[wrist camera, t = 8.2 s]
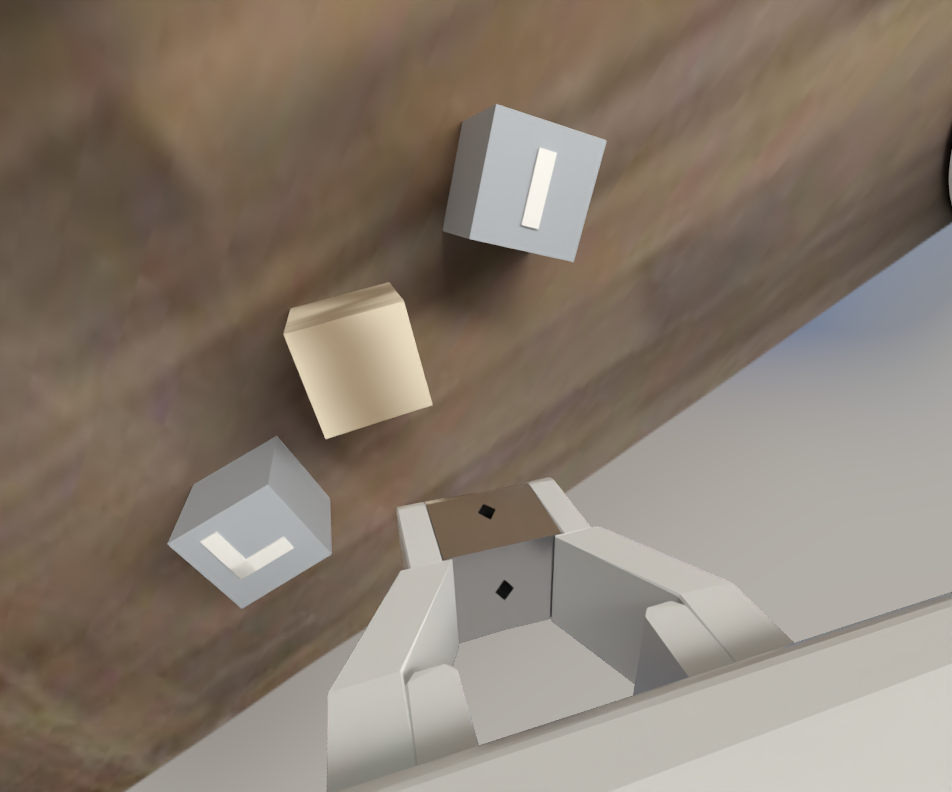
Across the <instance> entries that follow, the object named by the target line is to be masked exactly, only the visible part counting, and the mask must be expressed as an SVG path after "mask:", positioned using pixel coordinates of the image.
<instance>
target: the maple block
mask: <svg viewBox="0 0 952 792" xmlns="http://www.w3.org/2000/svg"><path fill="white" fill-rule="evenodd" d="M283 335H284V337H285V340H286V342H287V345H288V347H289V350H290V352H291V355H292V357H293V360H294V362H295V365H296V367H297V370H298V372H299V375H300V377H301V379H302V382H303V384H304V387H305V389H306V392H307V394H308V397H309V399H310V402H311V404H312V407H313V409H314V412H315V414H316V417H317V419H318V422H319V424H320V427H321V429H322V432H323V434H324V437H325V439H328V438H331V437H334V436H337V435H341V434H344V433H347V432H350V431H353V430H356V429H359V428H362V427H366V426H369V425H372V424H375V423H378V422H381V421H384V420H387V419H391V418H394V417H397V416H400V415H403V414H406V413H409V412H412V411H416V410H419V409H422V408H425V407H428V406H431V405H432V401H431V397H430V394H429V390H428V387H427V383H426V379H425V376H424V372H423V368H422V365H421V361H420V358H419V354H418V350H417V347H416V343H415V339H414V336H413V332H412V329H411V325H410V321H409V318H408V314H407V310H406V307H405V303H404V301H403V299H402V298H401V297H400V295H399V294H398V293H397V292H396V290H395V289H394V288H393V286H392V285H391V284H390V283H389V282H388V283H384V284H380V285H377V286H373V287H369V288H365V289H362V290H358V291H354V292H350V293H347V294H343V295H339V296H335V297H332V298H328V299H324V300H320V301H317V302H313V303H309V304H305V305H302V306H298V307H294V308H291V309H290V312H289V316H288V319H287V323H286V327H285V330H284V334H283Z"/></svg>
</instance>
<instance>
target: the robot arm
mask: <svg viewBox="0 0 952 792" xmlns="http://www.w3.org/2000/svg"><path fill="white" fill-rule="evenodd" d="M949 192H950V199H951V204H952V151H951V158H950V166H949ZM396 514H397V522H398V531H399V539H400V547H401V555H402V563H403V570H402V571H400V572H399V574H398V575H397V577H396V579H395V580H394V582H393V584H392V585H391V587H390V589H389V591H388V592H387V594H386V596H385V597H384V599H383V601H382V602H381V604H380V606H379V607H378V609H377V611H376V613H375V614H374V616H373V618H372V619H371V621H370V623H369V624H368V626H367V628H366V629H365V631H364V633H363V635H362V636H361V638H360V640H359V641H358V643H357V645H356V646H355V648H354V650H353V651H352V653H351V655H350V657H349V658H348V660H347V662H346V663H345V665H344V667H343V668H342V670H341V672H340V674H339V675H338V677H337V679H336V680H335V682H334V684H333V685H332V687H331V689H330V690H329V692H328V726H327V728H328V730H327V731H328V732H327V792H952V592H950V593H947V594H944V595H941V596H938V597H935V598H931V599H928V600H925V601H922V602H919V603H916V604H913V605H910V606H907V607H904V608H901V609H897V610H894V611H891V612H888V613H885V614H882V615H879V616H876V617H873V618H870V619H867V620H864V621H861V622H857V623H854V624H851V625H848V626H845V627H842V628H839V629H836V630H833V631H830V632H827V633H824V634H820V635H818V636H814V637H811V638H808V639H805V640H802V641H799V642H796V643H794V642H793V641H792V640H791V639H790V638H788V636H787V635H786V634H784V632H783V631H781V629H780V628H778V627H777V626H776V625H775V624H774V623H773V622H772V621H771V620H770V619H769V618H768V617H767V616H766V615H765V614H764V613H763V612H762V611H761V610H760V609H759V608H758V607H757V606H756V605H755V604H754V603H753V602H752V601H751V600H750V599H749V598H748V597H747V596H746V595H745V594H744V593H743V592H742V591H741V590H739V588H737V587H736V586H735V585H734V584H733V583H732V582H730V581H728V580H726V579H723V578H721V577H718V576H716V575H714V574H711V573H709V572H707V571H704V570H702V569H699V568H697V567H695V566H693V565H690V564H688V563H685V562H683V561H681V560H678V559H676V558H674V557H671V556H669V555H667V554H664V553H662V552H659V551H657V550H655V549H652V548H650V547H648V546H645V545H643V544H641V543H638V542H636V541H633V540H631V539H628V538H626V537H624V536H622V535H619V534H617V533H614V532H612V531H610V530H607V529H605V528H602V527H600V526H596V527H591V526H590V525H589V524H588V523H587V521H586V520H585V519H584V517H583V516H582V515H581V514H580V512H579V511H578V510H577V509H576V507H575V506H574V505H573V504H572V502H571V501H570V500H569V499H568V497H567V496H566V495H565V493H564V492H563V491H562V490H561V488H560V487H559V486H558V485H557V483H556V482H555V481H554V479H552V478H550V477H547V478H543V479H538V480H534V481H530V482H525V483H524V484H520V485H515V486H510V487H505V488H500V489H495V490H490V491H485V492H481V493H472V494H467V495H461V496H455V497H449V498H444V499H438V500H432V501H426V502H424V503H423V502H421V503H416V504H411V505H405V506H400V507H396ZM548 619H552V622H553V623H555V624H556V625H557V626H559V627H560V628H561V629H563V630H564V631H565V632H567V633H568V634H569V635H571V636H572V637H573V638H574V639H576V640H577V641H578V642H580V643H581V644H582V645H584V646H585V647H586V648H588V649H589V650H590V651H592V652H593V653H594V654H596V655H597V656H598V657H600V658H601V659H602V660H603V661H605V662H606V663H607V664H609V665H610V666H611V667H613V668H614V669H616V670H617V671H618V672H619V673H621V674H622V675H623V676H625V677H626V678H628V679H629V680H630V681H631V682H633V683H634V684H635V686H634V694H633V696H630V697H627V698H624V699H621V700H618V701H615V702H612V703H609V704H606V705H603V706H599V707H596V708H593V709H590V710H587V711H584V712H581V713H578V714H575V715H572V716H569V717H566V718H562V719H559V720H556V721H553V722H550V723H547V724H544V725H541V726H538V727H535V728H532V729H528V730H525V731H522V732H519V733H516V734H513V735H510V736H507V737H504V738H501V739H498V740H495V741H492V742H488V743H486V744H482V745H478V741H477V737H476V734H475V730H474V727H473V723H472V719H471V716H470V712H469V709H468V705H467V701H466V698H465V694H464V691H463V687H462V684H461V680H460V677H459V673H458V669H455V668H453V665H454V662H455V658H456V655H457V652H458V648H459V643H462V642H466V641H469V640H472V639H476V638H479V637H482V636H486V635H489V634H492V633H496V632H499V631H502V630H506V629H510V628H514V627H519V626H523V625H527V624H531V623H535V622H539V621H543V620H548Z"/></svg>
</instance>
